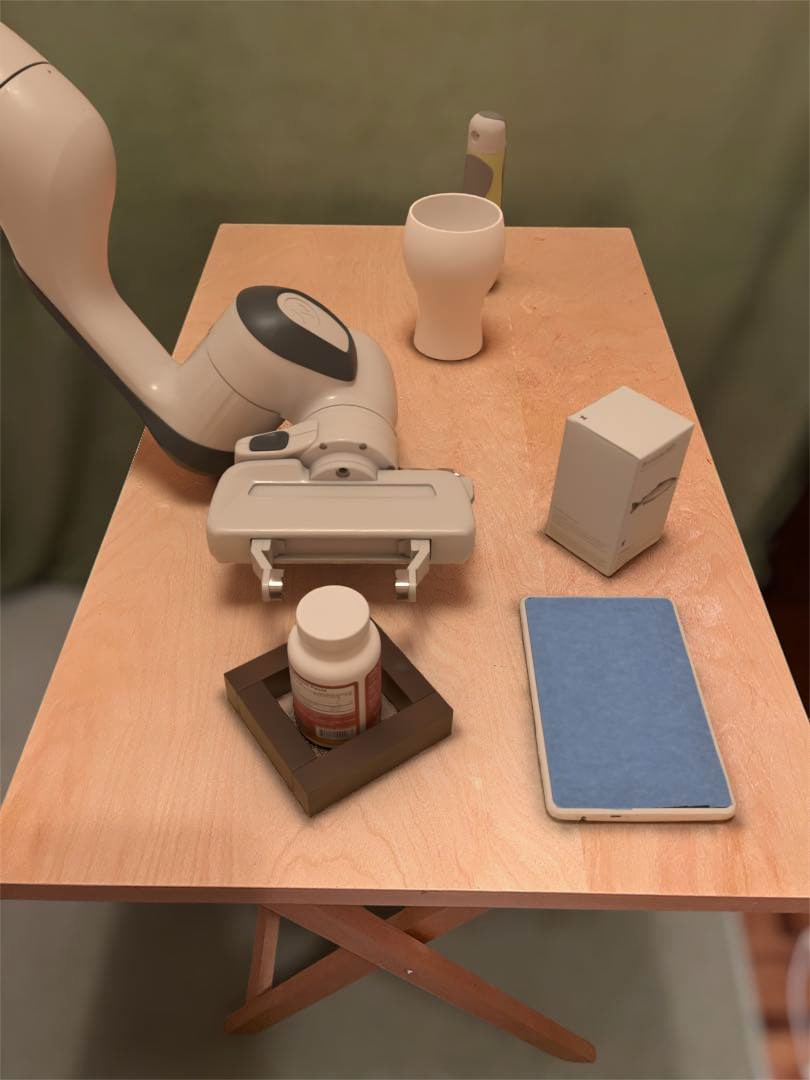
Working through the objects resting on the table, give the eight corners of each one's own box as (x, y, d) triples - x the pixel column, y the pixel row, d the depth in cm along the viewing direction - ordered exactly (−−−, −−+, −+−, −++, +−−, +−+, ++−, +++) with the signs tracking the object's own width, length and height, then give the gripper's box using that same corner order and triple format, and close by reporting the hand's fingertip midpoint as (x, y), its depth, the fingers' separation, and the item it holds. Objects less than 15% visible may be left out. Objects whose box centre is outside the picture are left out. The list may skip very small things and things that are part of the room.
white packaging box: (608, 580, 76) (639, 460, 67) (542, 533, 80) (563, 414, 71) (663, 541, 79) (698, 422, 71) (597, 498, 83) (623, 380, 75)
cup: (410, 313, 107) (414, 185, 96) (501, 324, 105) (514, 196, 95) (391, 361, 99) (393, 228, 89) (488, 374, 98) (501, 240, 87)
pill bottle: (347, 667, 68) (343, 562, 61) (398, 720, 65) (401, 616, 57) (277, 709, 65) (264, 604, 58) (327, 767, 62) (321, 664, 54)
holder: (309, 817, 59) (307, 794, 57) (227, 697, 66) (223, 673, 64) (451, 733, 64) (453, 709, 62) (361, 629, 71) (361, 605, 69)
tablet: (737, 823, 60) (742, 813, 59) (545, 823, 59) (548, 812, 58) (671, 605, 74) (674, 594, 73) (516, 604, 73) (517, 592, 73)
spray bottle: (447, 283, 112) (457, 112, 99) (474, 271, 115) (488, 103, 101) (475, 298, 110) (489, 125, 96) (503, 285, 112) (520, 115, 98)
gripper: (469, 499, 77) (481, 624, 67) (226, 498, 77) (202, 624, 67) (474, 440, 73) (489, 565, 63) (216, 438, 72) (190, 564, 62)
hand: (339, 595), depth 65 cm, fingers open, 8 cm apart
